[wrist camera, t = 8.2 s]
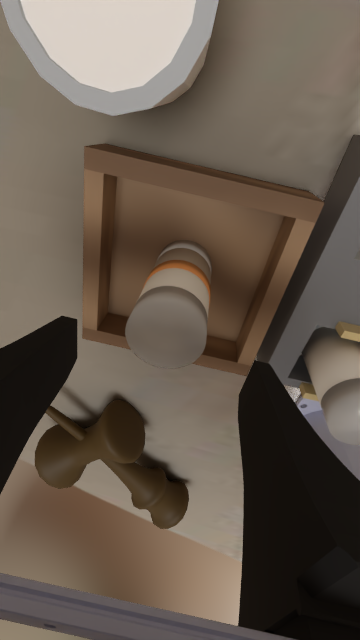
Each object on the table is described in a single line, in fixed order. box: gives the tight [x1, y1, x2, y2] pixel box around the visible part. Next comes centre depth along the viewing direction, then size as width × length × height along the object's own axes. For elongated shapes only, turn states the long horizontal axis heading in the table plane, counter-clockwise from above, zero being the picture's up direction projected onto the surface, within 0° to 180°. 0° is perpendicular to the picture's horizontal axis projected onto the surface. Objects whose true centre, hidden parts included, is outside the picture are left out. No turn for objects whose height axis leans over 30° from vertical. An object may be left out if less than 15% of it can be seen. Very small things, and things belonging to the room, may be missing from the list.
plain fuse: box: [302, 325, 360, 445], centre depth 19 cm, size 4×4×8 cm
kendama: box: [35, 400, 189, 529], centre depth 30 cm, size 6×10×20 cm
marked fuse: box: [125, 240, 212, 369], centre depth 16 cm, size 4×4×8 cm
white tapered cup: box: [0, 0, 219, 116], centre depth 11 cm, size 7×7×7 cm
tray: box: [82, 144, 324, 376], centre depth 19 cm, size 12×12×3 cm
